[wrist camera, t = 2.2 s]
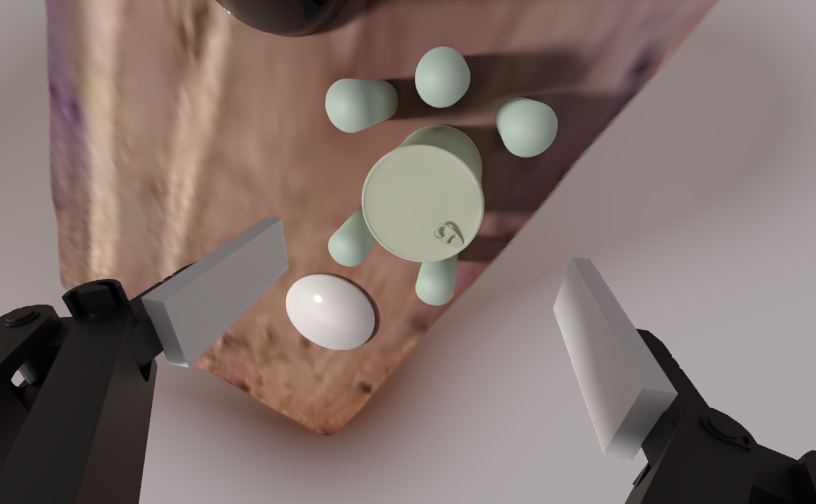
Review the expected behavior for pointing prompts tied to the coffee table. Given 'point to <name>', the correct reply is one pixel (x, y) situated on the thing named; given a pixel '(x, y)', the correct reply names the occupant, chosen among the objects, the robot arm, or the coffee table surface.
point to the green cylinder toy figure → (426, 195)
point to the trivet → (330, 311)
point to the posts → (440, 87)
